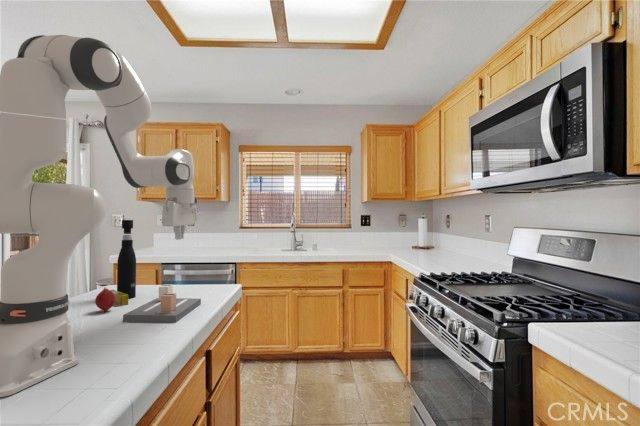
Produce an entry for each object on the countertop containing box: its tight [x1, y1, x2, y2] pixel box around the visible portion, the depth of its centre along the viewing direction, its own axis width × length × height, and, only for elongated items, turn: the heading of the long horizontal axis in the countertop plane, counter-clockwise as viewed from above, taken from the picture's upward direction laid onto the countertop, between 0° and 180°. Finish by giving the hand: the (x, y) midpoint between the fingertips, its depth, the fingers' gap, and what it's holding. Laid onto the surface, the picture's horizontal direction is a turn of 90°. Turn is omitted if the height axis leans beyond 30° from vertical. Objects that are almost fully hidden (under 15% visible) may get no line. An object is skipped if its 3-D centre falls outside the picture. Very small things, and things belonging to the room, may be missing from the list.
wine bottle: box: [116, 219, 137, 300], centre depth 139 cm, size 6×6×30 cm
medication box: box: [109, 289, 129, 307], centre depth 131 cm, size 12×3×4 cm, turn 53°
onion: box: [94, 286, 116, 312], centre depth 119 cm, size 6×6×8 cm
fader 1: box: [158, 284, 174, 301], centre depth 127 cm, size 4×3×5 cm
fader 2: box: [161, 292, 177, 312], centre depth 113 cm, size 4×3×5 cm
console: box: [122, 297, 202, 323], centre depth 119 cm, size 22×16×2 cm
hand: (179, 239), depth 121 cm, fingers closed
